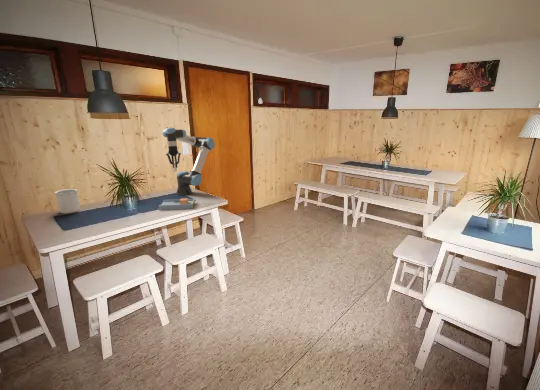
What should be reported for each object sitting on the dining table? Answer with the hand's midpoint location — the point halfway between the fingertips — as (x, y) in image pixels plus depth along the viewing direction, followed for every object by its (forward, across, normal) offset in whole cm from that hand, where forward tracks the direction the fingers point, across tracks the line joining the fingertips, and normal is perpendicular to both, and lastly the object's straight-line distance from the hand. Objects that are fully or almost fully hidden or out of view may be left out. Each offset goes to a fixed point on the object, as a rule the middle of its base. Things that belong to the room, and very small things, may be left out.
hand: (175, 171), depth 241 cm
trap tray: (+29, +2, -17) cm, 33 cm away
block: (+26, +8, -18) cm, 33 cm away
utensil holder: (+28, -86, -17) cm, 92 cm away
